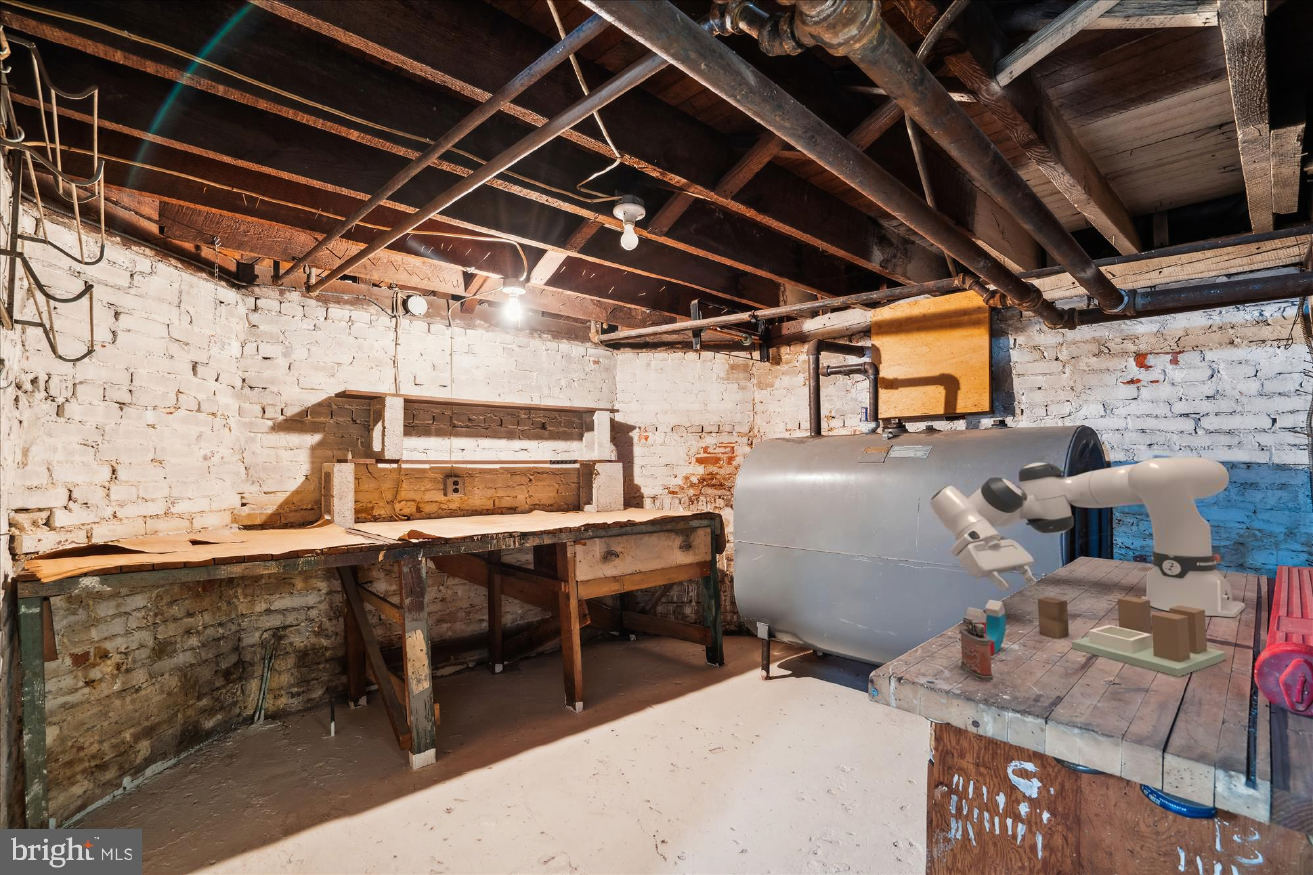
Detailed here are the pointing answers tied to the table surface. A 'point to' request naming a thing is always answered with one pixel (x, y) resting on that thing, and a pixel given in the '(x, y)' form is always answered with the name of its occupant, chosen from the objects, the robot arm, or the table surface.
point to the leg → (1053, 617)
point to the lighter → (975, 650)
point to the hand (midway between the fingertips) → (1020, 586)
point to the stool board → (1154, 638)
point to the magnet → (991, 622)
